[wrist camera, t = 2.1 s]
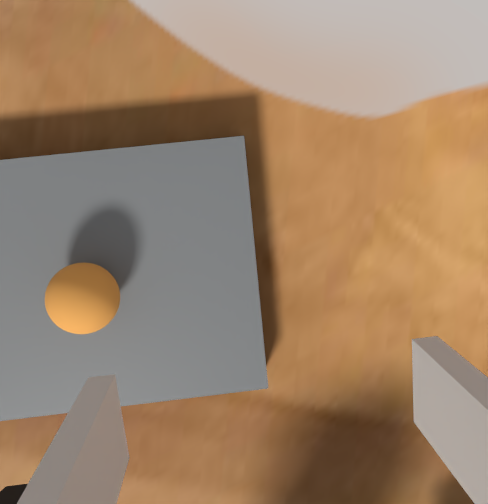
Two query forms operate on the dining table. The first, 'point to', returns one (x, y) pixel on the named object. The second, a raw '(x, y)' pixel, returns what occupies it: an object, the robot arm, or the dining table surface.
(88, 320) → the ball
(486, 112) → the dining table surface
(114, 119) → the dining table surface
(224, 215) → the plate
